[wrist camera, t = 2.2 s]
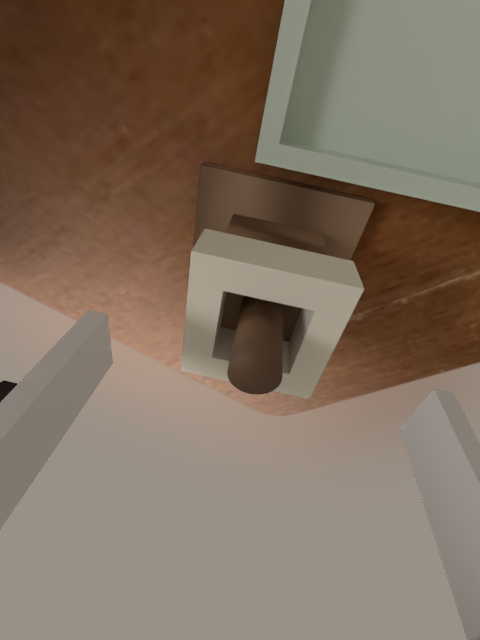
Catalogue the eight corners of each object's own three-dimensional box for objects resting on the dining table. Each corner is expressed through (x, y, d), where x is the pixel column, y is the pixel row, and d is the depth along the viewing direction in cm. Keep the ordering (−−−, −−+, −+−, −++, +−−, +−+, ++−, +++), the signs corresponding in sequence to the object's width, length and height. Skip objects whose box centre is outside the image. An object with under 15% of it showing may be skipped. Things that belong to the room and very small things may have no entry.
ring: (192, 340, 18) (180, 371, 16) (204, 228, 14) (191, 250, 12) (306, 365, 18) (309, 399, 16) (353, 261, 14) (364, 289, 12)
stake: (191, 301, 24) (135, 421, 15) (204, 161, 18) (125, 229, 9) (316, 328, 24) (332, 464, 15) (371, 198, 18) (449, 300, 9)
